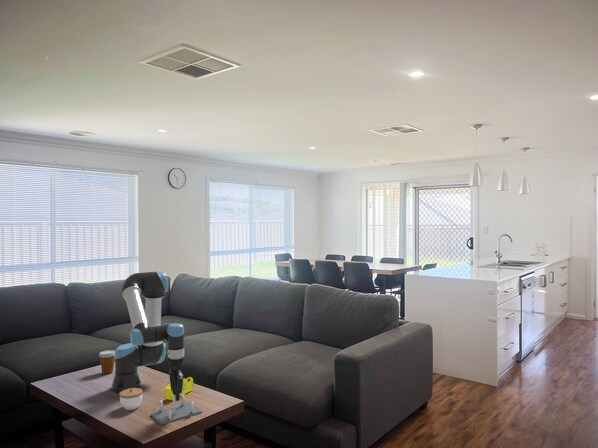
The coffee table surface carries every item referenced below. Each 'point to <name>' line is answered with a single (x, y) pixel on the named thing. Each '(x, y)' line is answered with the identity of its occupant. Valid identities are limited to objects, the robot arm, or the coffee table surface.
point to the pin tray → (175, 412)
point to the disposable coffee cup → (107, 360)
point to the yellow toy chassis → (185, 389)
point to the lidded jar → (131, 398)
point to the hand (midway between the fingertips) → (176, 406)
